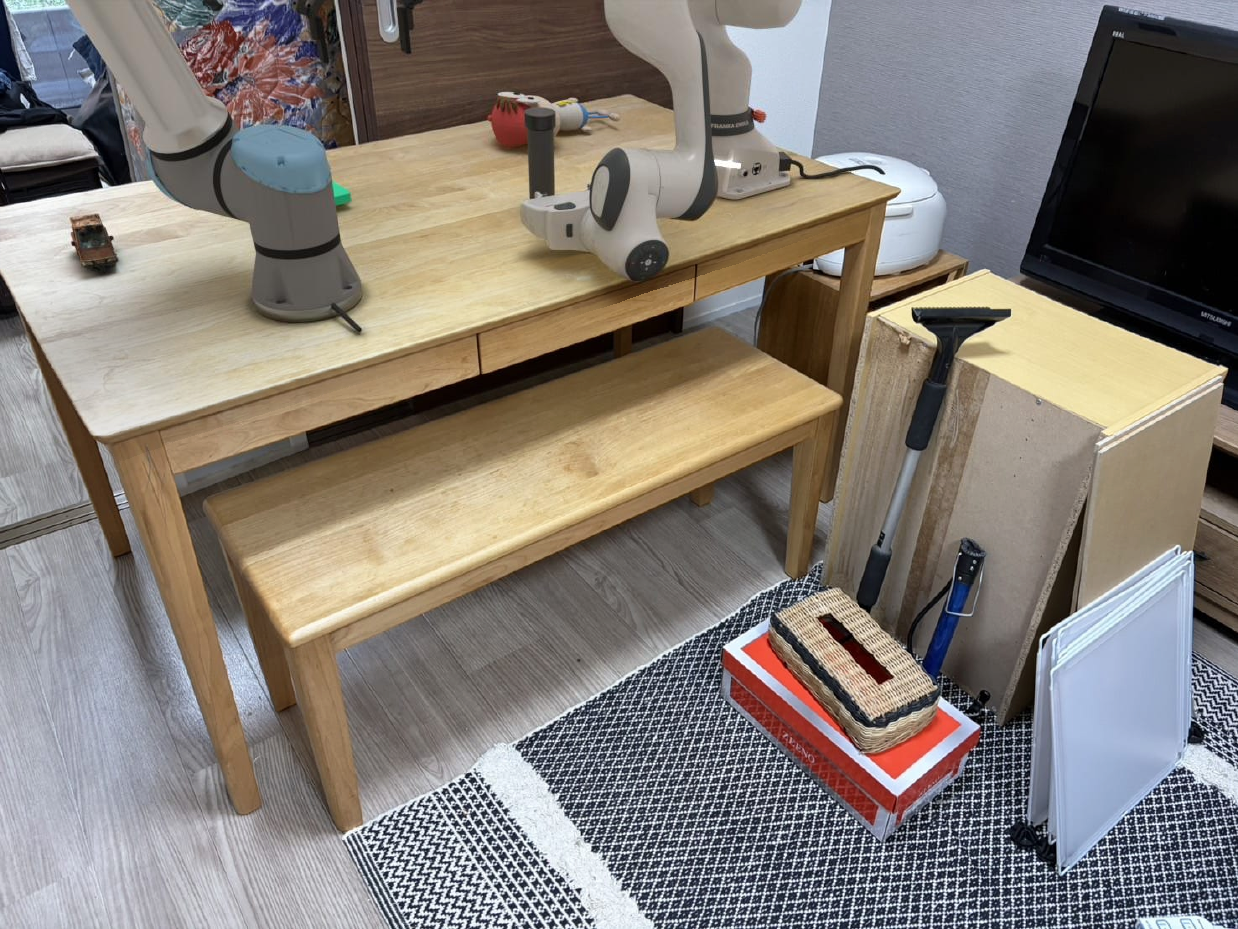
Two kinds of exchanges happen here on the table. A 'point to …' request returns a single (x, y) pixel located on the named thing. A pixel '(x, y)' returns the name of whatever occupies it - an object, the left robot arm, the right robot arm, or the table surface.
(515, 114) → the toy
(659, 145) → the table surface
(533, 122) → the lid
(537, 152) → the dark grey cylinder
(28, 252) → the table surface
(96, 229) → the toy car
